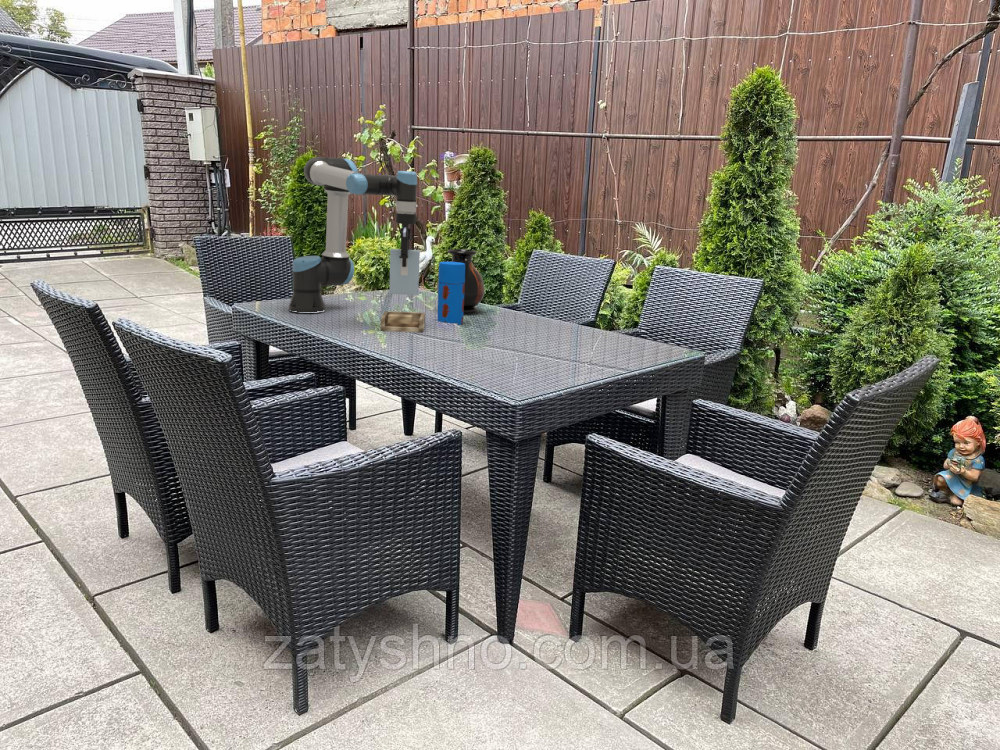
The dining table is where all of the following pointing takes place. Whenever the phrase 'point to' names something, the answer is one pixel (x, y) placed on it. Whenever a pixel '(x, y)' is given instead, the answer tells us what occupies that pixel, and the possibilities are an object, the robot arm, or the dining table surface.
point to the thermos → (451, 292)
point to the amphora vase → (469, 280)
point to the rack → (416, 318)
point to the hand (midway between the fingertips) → (404, 274)
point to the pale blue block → (404, 282)
